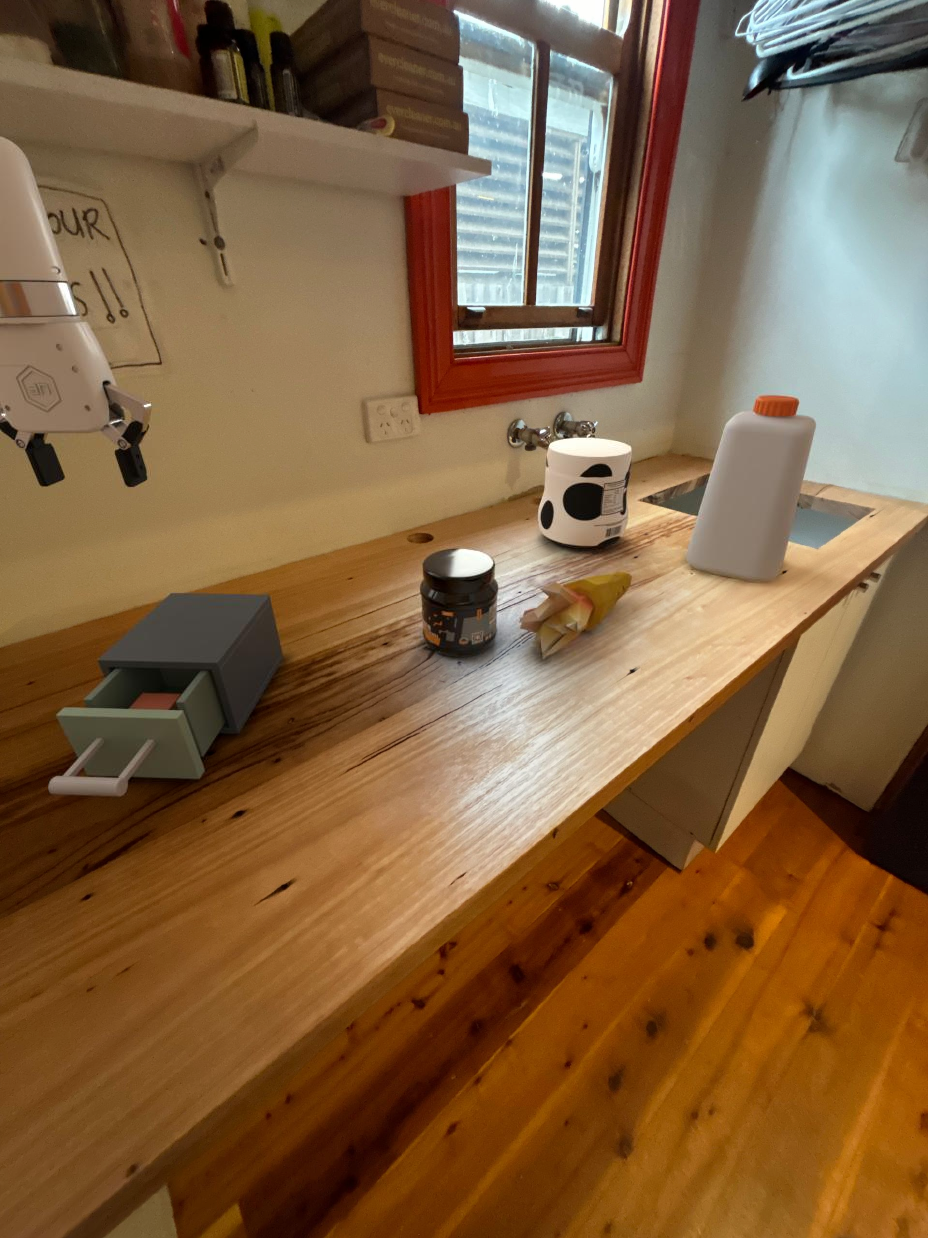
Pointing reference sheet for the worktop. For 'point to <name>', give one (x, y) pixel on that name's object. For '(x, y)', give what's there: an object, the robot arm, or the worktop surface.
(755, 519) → the plastic bottle
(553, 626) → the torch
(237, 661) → the cabinet
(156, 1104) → the worktop surface
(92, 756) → the drawer
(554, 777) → the worktop surface
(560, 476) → the milk container
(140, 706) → the block
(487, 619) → the supplement container
